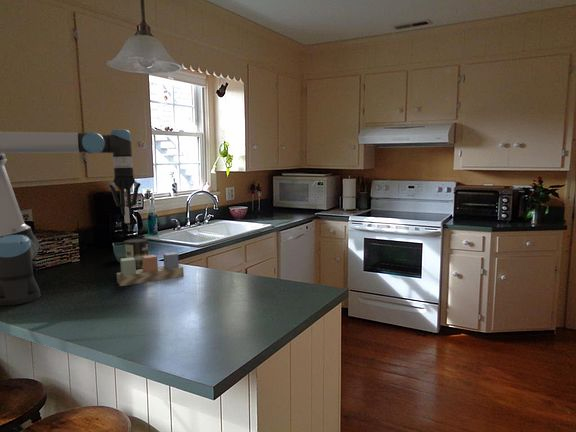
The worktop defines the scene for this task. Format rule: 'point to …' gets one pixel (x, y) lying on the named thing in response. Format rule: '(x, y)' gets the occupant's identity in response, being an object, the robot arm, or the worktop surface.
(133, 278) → the socket rail
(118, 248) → the flower pot
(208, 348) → the worktop surface
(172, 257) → the slate block
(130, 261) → the sage block
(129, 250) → the coffee can
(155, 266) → the terracotta block
